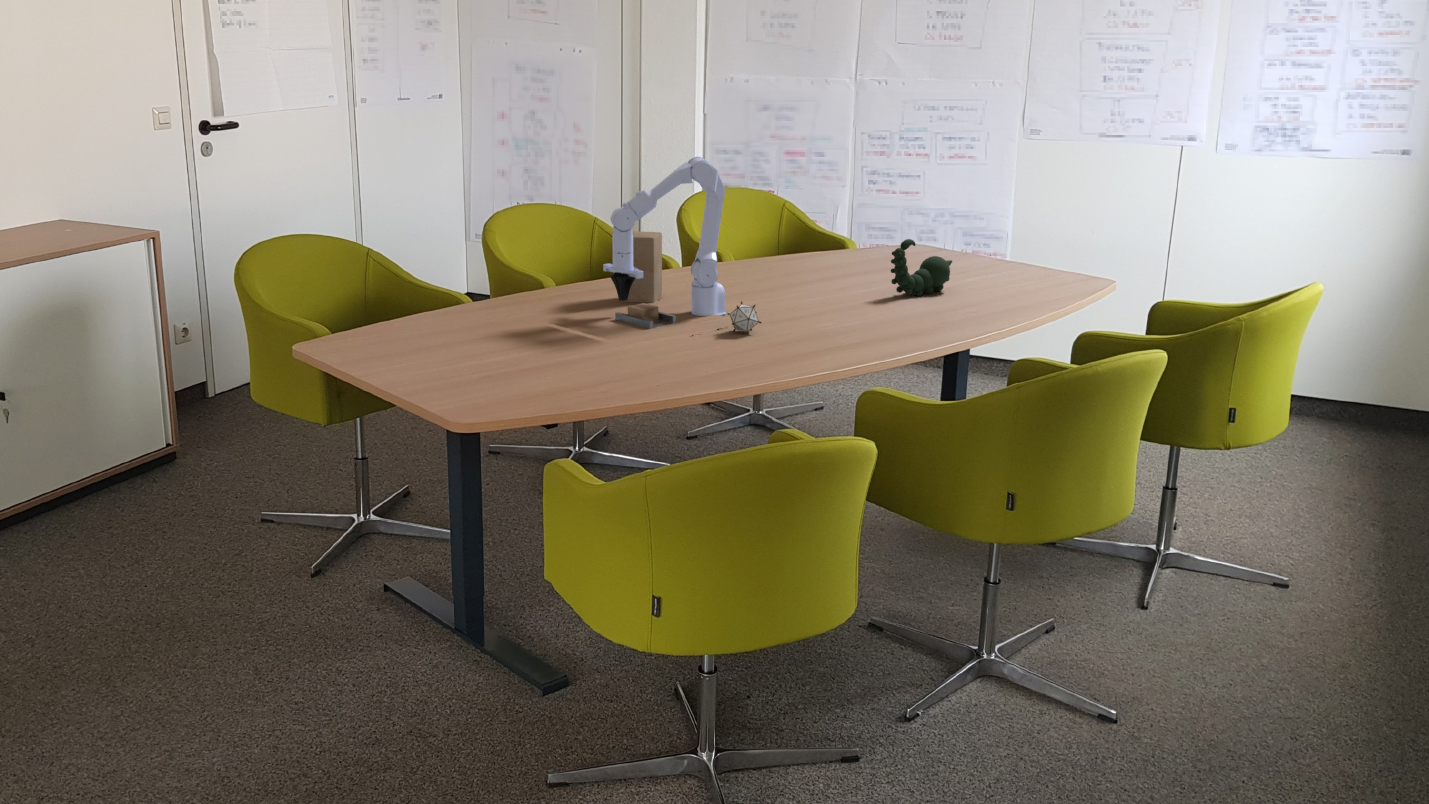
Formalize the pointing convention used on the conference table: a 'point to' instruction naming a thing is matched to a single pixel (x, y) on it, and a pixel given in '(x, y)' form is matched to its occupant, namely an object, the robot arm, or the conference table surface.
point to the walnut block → (644, 311)
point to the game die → (744, 318)
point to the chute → (646, 320)
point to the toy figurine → (919, 272)
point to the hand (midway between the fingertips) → (623, 300)
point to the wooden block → (647, 267)
